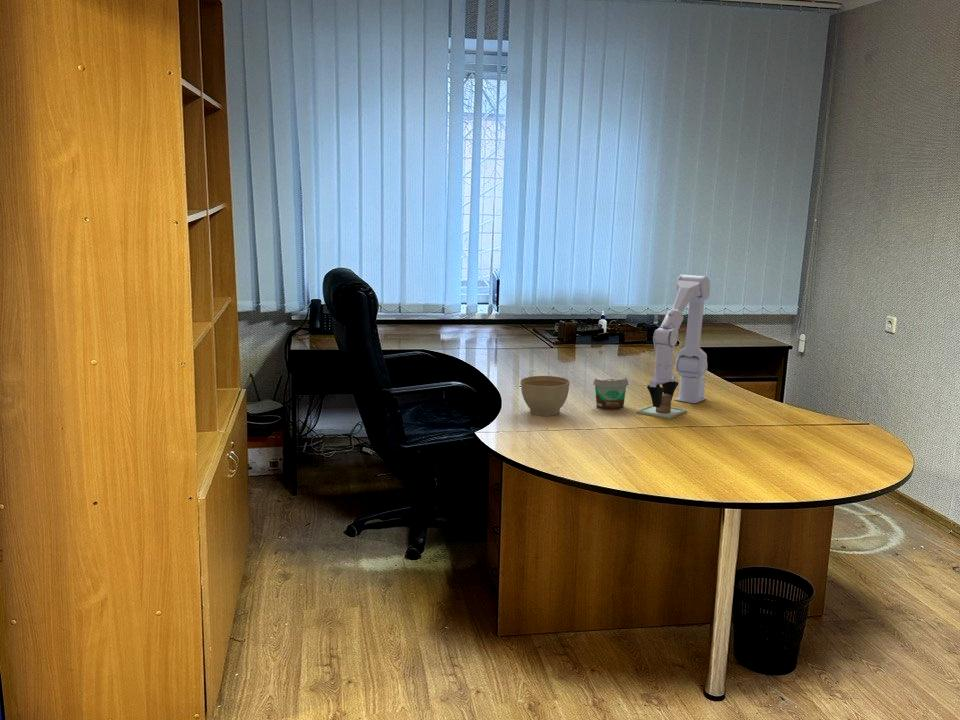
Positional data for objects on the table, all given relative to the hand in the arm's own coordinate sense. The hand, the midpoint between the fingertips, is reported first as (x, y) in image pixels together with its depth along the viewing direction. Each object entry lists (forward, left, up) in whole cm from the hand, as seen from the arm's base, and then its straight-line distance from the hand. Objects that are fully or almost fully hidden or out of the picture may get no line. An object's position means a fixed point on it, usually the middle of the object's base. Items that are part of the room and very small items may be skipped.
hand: (661, 404), depth 293 cm
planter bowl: (+26, -29, -3) cm, 39 cm away
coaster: (0, 0, -3) cm, 3 cm away
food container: (+6, -15, -3) cm, 16 cm away
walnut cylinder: (0, +1, -2) cm, 2 cm away
